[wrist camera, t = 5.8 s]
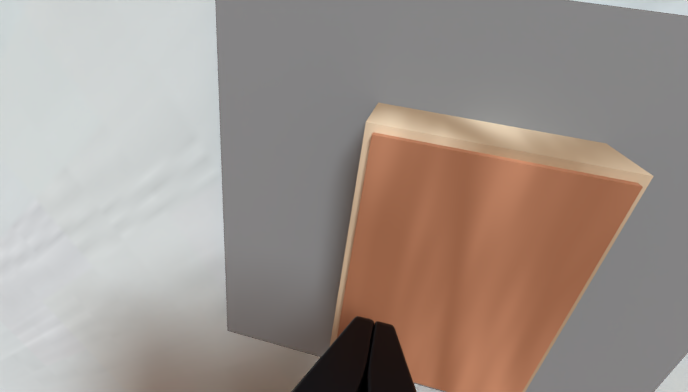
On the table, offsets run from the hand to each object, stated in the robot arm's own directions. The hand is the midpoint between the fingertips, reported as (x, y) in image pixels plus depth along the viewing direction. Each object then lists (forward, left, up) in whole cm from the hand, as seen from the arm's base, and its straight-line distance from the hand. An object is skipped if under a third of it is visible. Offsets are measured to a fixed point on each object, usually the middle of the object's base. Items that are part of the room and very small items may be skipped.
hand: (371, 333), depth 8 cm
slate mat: (-2, 0, -5) cm, 5 cm away
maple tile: (-5, 0, -3) cm, 6 cm away
